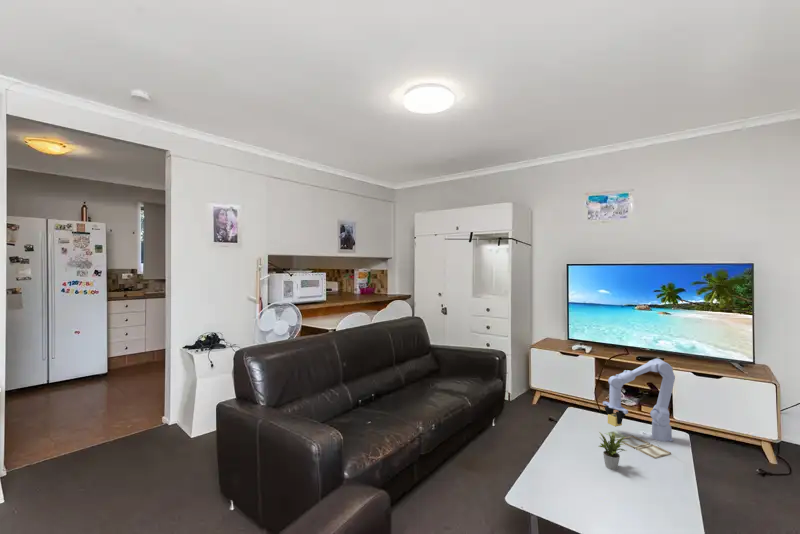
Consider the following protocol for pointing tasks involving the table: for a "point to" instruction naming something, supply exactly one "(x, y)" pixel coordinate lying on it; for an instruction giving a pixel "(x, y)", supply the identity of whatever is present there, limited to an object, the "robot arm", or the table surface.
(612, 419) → the letter cube
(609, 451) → the house plant
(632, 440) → the organizer board
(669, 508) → the table surface
